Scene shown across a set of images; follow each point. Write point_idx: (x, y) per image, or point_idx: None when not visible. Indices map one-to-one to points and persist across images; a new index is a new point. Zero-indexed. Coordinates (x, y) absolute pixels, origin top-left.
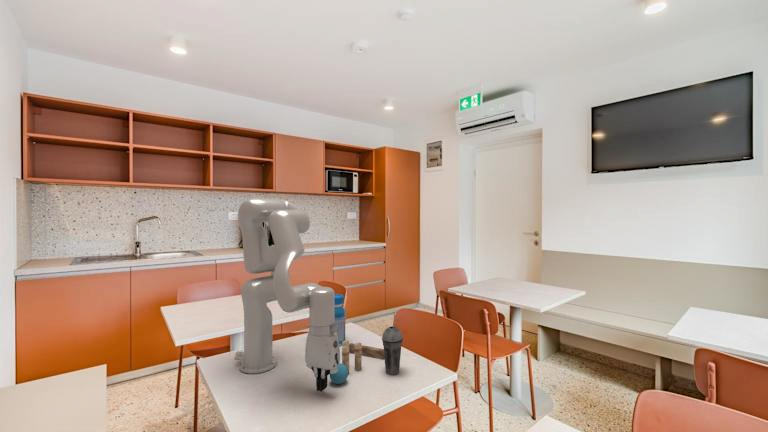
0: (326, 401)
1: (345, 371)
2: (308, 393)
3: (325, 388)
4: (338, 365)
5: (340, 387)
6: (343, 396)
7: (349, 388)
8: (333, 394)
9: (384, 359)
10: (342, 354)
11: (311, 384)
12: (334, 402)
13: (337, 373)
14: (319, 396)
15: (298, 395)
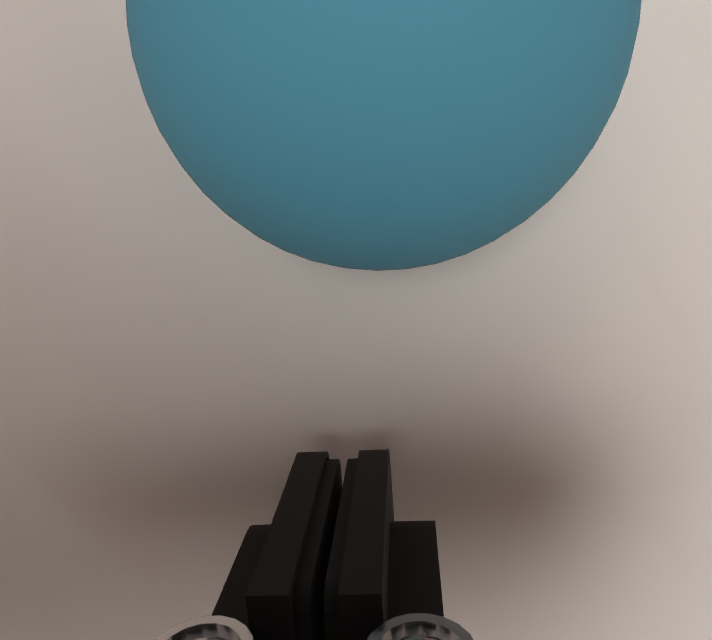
0: (535, 600)
1: (635, 9)
2: (181, 549)
3: (391, 483)
4: (409, 41)
5: None
6: (703, 399)
7: (679, 143)
8: (524, 421)
9: None
10: None
11: (31, 340)
12: (655, 576)
13: (485, 236)
14: None
15: (106, 635)
